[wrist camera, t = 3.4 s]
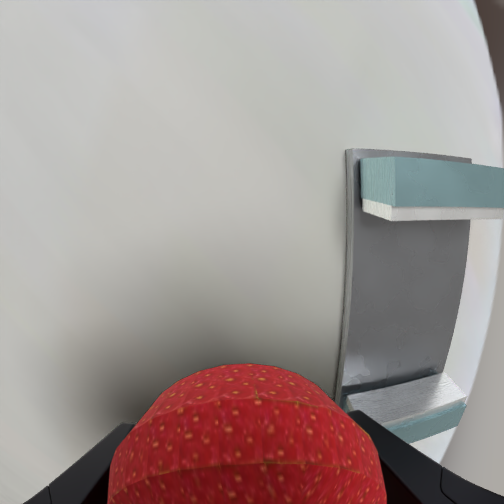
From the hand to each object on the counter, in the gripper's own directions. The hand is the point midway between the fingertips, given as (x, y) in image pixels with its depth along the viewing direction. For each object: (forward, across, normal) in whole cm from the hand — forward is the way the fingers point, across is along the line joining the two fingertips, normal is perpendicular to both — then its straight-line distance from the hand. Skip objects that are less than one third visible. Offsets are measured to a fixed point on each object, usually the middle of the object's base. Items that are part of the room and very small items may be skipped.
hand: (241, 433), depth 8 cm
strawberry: (+3, 0, 0) cm, 3 cm away
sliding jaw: (+8, -10, -6) cm, 14 cm away
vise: (+9, -10, 0) cm, 14 cm away
